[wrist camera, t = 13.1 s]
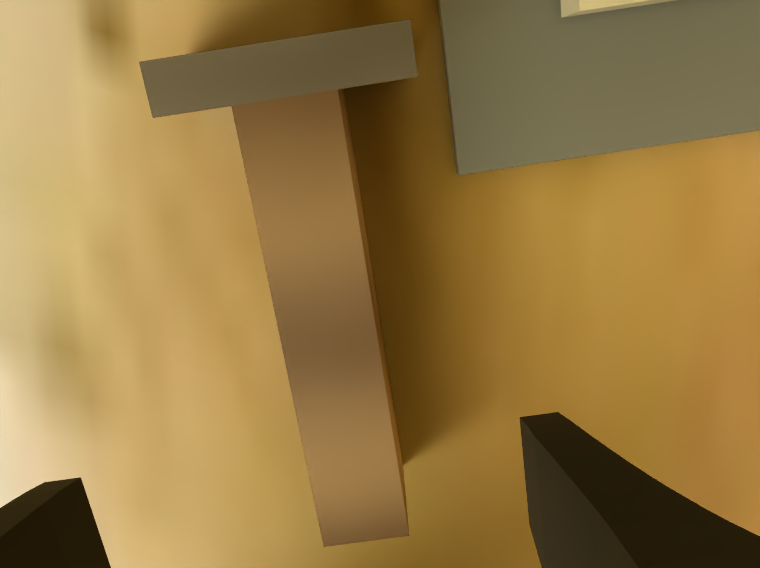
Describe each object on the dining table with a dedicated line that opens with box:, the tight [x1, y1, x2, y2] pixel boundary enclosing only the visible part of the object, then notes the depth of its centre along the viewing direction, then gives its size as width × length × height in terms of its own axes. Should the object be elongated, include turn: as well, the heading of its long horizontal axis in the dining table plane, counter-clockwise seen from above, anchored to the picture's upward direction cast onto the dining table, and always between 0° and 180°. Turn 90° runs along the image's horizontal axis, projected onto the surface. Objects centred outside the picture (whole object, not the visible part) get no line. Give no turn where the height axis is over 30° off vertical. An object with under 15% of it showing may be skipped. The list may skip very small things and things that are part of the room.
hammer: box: [139, 19, 418, 547], centre depth 18 cm, size 13×6×4 cm, turn 8°
